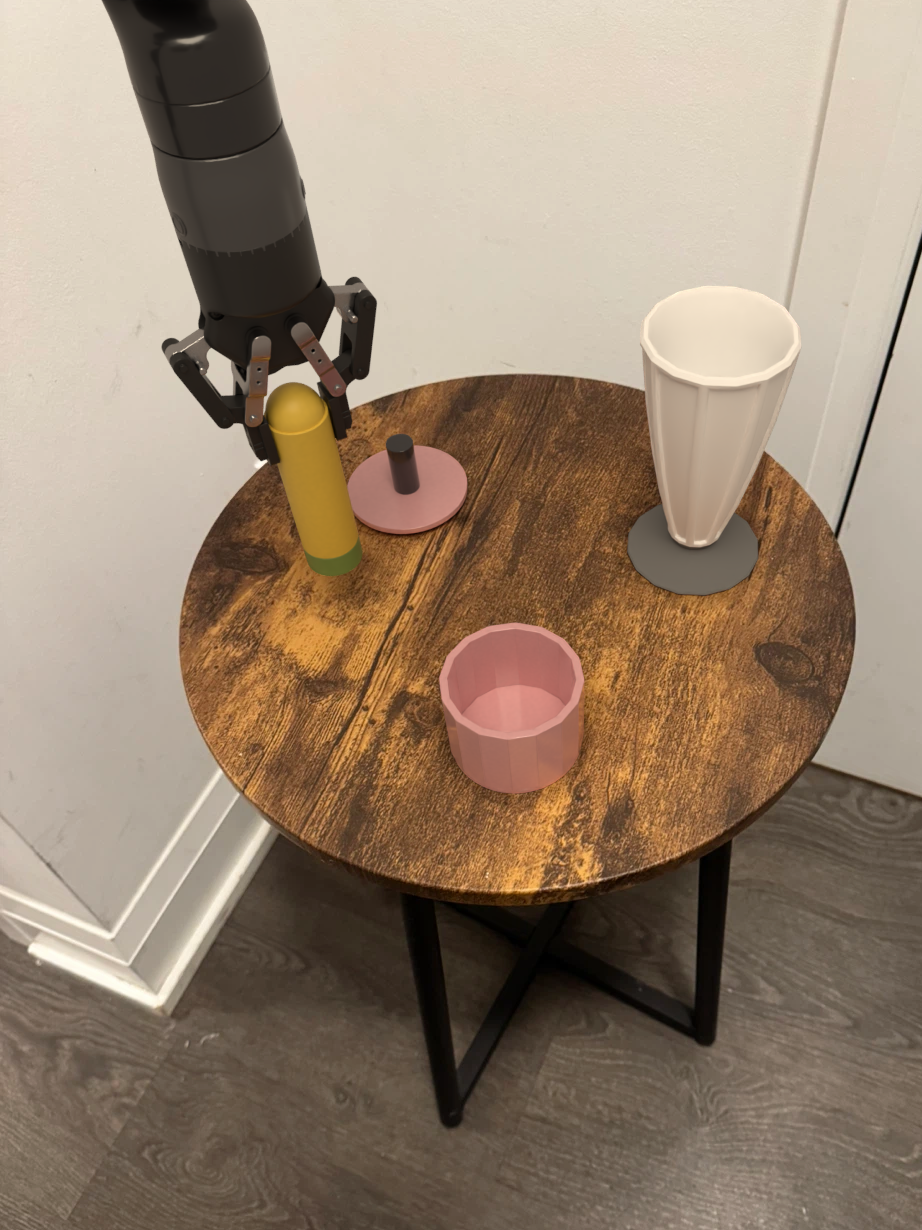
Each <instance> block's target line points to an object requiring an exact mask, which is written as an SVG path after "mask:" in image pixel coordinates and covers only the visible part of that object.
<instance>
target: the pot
mask: <svg viewBox="0 0 922 1230" xmlns="http://www.w3.org/2000/svg"><path fill="white" fill-rule="evenodd" d="M438 682H439V690H440V691H439V692H440V698H441V704H442V710H443V715H444V720H445V721H444V722H445V725H446V732H447V737H448V742H449V747H450V753H451V755H452V756H453V760H454V761H455V763H456V765H457V766H458V768H459V769H460V770H461V772H462V773H463V774H464V775H465V776H466V777H467V778H468V779H470V780H471V781H472V782H474V784H475V783H476V784H477V785H479V786H481V787H483V788H485V789H487V790H490V791H495V792H498V793H502V794H526V793H527V794H528V793H531V792H536V791H539V790H541V789H544V788H547V787H550V786H551V785H552V784H555V783H556V782H557V781H559V780H560V779H561V778H563V777H564V776H565V775H566V774H567V773H568V772H569V771H570V770H571V769H572V767H573V766H574V765H575V763H576V761H577V759H578V758H579V755H580V753H581V750H582V746H583V739H584V736H585V675H584V672H583V667H582V663H581V658H580V657H579V655H578V654H577V653H576V652H575V650H574V649H573V648H572V647H571V645H570V644H569V643H568V642H567V641H566V639H564V638H563V637H561V636H559V634H558V635H557V634H555V633H554V632H552V631H551V630H549V629H547V628H545V627H544V626H539V625H533V624H528V623H522V622H509V623H508V622H507V623H501V624H494V625H493V624H492V625H488V626H485V627H483V628H482V629H479V630H477V631H475V632H473V633H471V634H469V635H467V636H465V637H464V638H462V640H461V641H460V642H459V643H458V644H456V646H455V647H454V648H452V650H451V651H450V652H449V653H448V654H447V655H446V657H445V660H444V662H443V665H442V668H441V671H440V674H439V676H438Z"/></svg>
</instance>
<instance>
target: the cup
mask: <svg viewBox="0 0 922 1230" xmlns="http://www.w3.org/2000/svg"><path fill="white" fill-rule="evenodd" d="M801 336H802V334H801V327H800V326H799V324H798V323H797V321H796V320H795V318H794V317H793V316H792V315H791V314H790V312H789V311H788V309H787V308H786V307H785V306H784V305H782V304H781V303H779V302H777V301H776V300H774V299H773V298H770V297H769V296H767V295H766V294H765V293H760V292H758V291H753V290H750V289H746V288H743V287H739V286H733V285H732V286H731V285H702V286H698V287H693V288H688V289H684V290H679V291H677V292H674V293H673V294H670V295H669V296H668V297H667V296H666V297H665V298H664V299H662V300H660V301H658V302H656V303H655V304H654V305H653V307H652V308H651V309H650V310H649V312H647V314H646V316H645V317H644V318H643V319H642V320H641V322H640V335H639V345H640V347H641V349H642V350H641V353H642V369H643V370H642V371H643V384H644V385H643V386H644V399H645V407H646V408H645V409H646V416H647V423H648V431H649V440H650V448H651V454H652V455H651V456H652V460H653V466H654V471H655V476H656V481H657V488H658V493H659V496H660V500H661V504H660V503H659V504H657V505H656V506H654V507H652V508H651V509H649V510H648V511H646V512H644V513H642V514H641V515H640V516H639V517H637V519H636V521H635V523H634V524H633V526H632V527H631V528H630V530H629V531H628V534H627V535H628V536H627V549H626V550H627V554H628V557H629V558H630V561H631V563H632V565H633V568H634V569H635V571H636V572H638V573H639V574H640V575H641V576H642V577H644V578H645V580H647V581H648V582H650V583H651V584H652V585H653V586H655V587H658V588H661V589H663V590H665V591H668V592H671V593H675V594H677V595H685V596H686V595H687V596H709V595H712V594H716V593H720V592H724V591H728V590H730V589H732V588H734V587H736V586H737V584H739V583H740V582H742V581H743V580H745V579H746V578H748V577H749V576H750V574H751V572H752V570H753V568H754V567H755V565H756V563H757V562H758V559H759V541H758V538H757V536H756V534H755V533H754V530H753V529H752V528H751V526H750V524H749V522H748V521H747V520H746V519H744V518H743V517H741V516H740V515H739V514H738V513H736V510H737V509H738V508H739V505H740V503H741V501H742V499H743V497H744V495H745V493H746V491H747V490H748V487H749V485H750V483H751V481H752V479H753V477H754V475H755V473H756V471H757V469H758V466H759V463H760V462H761V460H762V457H763V454H764V452H765V449H766V447H767V445H768V442H769V440H770V438H771V435H772V432H773V430H774V428H775V425H776V424H777V421H778V417H779V415H780V413H781V409H782V406H783V404H784V401H785V398H786V395H787V392H788V389H789V387H790V384H791V382H792V379H793V375H794V373H795V372H794V371H795V368H796V365H797V362H798V360H799V356H800V353H801V350H802V337H801Z"/></svg>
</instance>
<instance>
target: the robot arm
mask: <svg viewBox="0 0 922 1230" xmlns="http://www.w3.org/2000/svg"><path fill="white" fill-rule="evenodd" d="M101 3H102V5H103V6H104V9H105V11H106V13H107V15H108V17H109V20H110V22H111V25H112V26H113V27H112V28H113V29H114V32H115V34H116V36H117V40H118V42H119V44H120V47H121V50H122V54H123V57H124V61H125V62H124V63H125V66H126V70H127V73H128V77H129V80H130V83H131V86H132V90H133V94H134V96H135V99H136V102H137V106H138V108H139V111H140V115H141V117H142V120H143V123H144V126H145V130H146V133H147V135H148V139H149V141H150V145H151V147H152V152H153V157H154V162H155V169H156V173H157V178H158V182H159V185H160V188H161V192H162V195H163V198H164V201H165V204H166V208H167V210H168V213H169V217H170V220H171V223H172V225H173V229H174V231H175V234H176V238H177V240H178V243H179V246H180V250H181V252H182V255H183V259H184V262H185V264H186V267H187V271H188V273H189V276H190V279H191V282H192V284H193V288H194V291H195V294H196V297H197V300H198V304H199V316H198V319H197V320H198V321H197V327H198V329H196V330H194V331H193V332H192V333H190V334H189V335H187V336H185V337H184V338H183V339H181V340H179V339H177V338H175V337H169V338H166V339H164V340H163V342H162V343H161V351H162V354H164V357H165V358H166V360H167V362H168V363H169V366H170V367H171V369H172V371H173V372H174V374H175V375H176V377H177V378H178V379H179V380H180V382H181V383H182V384H183V385H184V387H185V388H186V389H187V390H188V392H190V394H191V395H192V396H193V397H194V399H195V401H197V402H198V404H199V405H200V407H202V409H203V410H204V411H205V412H206V414H207V415H208V416H209V417H210V418H211V420H212V421H213V422H214V424H215V425H216V426H217V427H218V428H220V429H222V430H227V429H230V428H231V427H233V425H234V424H240V425H242V427H243V431H244V433H245V436H246V439H247V442H248V445H249V447H250V449H251V450H252V452H253V454H254V455H255V457H256V458H257V459H258V461H259V462H264V461H267V463H268V465H269V466H270V467H273V466H275V465H276V466H277V464H278V463H280V460H279V456H278V453H277V450H276V447H275V443H274V440H273V437H272V433H271V430H270V427H269V424H268V422H267V420H266V418H265V417H264V409H265V408H264V407H265V406H264V405H265V397H267V396H268V387H269V385H268V384H269V376H271V375H273V374H276V373H278V372H280V371H281V370H282V369H284V368H286V367H294V366H300V365H302V364H305V363H309V364H310V366H311V367H312V369H313V370H314V372H315V374H316V375H317V376H318V378H319V381H317V382H316V385H317V386H316V387H317V389H318V395H319V396H320V397H321V398H322V399H323V400H324V401H325V403H326V404H327V406H328V410H329V414H330V418H331V423H332V427H333V431H334V435H335V439H336V442H339V441H342V440H345V439H348V433H347V430H350V429H352V424H353V418H352V414H351V409H350V406H349V400H348V396H347V388H348V387H349V385H351V383H352V382H354V381H356V380H357V381H363V380H365V379H366V378H367V377H368V376H369V374H370V372H371V371H370V369H371V361H372V353H373V352H372V351H373V343H374V335H375V326H376V325H375V324H376V318H377V317H376V316H377V307H378V301H377V298H376V297H375V296H374V294H373V293H372V292H371V291H370V290H369V288H368V287H367V285H366V284H365V283H364V282H363V281H362V279H361V278H360V277H359V276H351V277H349V278H347V280H346V281H345V283H344V285H340V284H339V285H328V283H327V282H326V280H325V279H324V278H323V275H322V270H321V265H320V260H319V255H318V251H317V246H316V241H315V238H314V233H313V229H312V225H311V224H312V223H311V219H310V215H309V211H308V206H307V202H306V194H307V193H306V188H305V183H304V179H303V178H302V175H301V173H300V169H299V165H298V162H297V158H296V155H295V151H294V149H293V146H292V143H291V140H290V138H289V135H288V132H287V129H286V126H285V123H284V119H283V115H282V111H281V107H280V103H279V97H278V93H277V89H276V88H277V87H276V85H275V81H274V79H275V78H274V75H273V70H272V67H271V62H270V57H269V53H268V49H267V44H266V42H265V37H264V34H263V31H262V27H261V26H260V23H259V21H258V18H257V16H256V14H255V12H254V10H253V8H252V7H251V5H250V4H249V2H248V1H247V0H101ZM335 308H336V312H337V314H338V315H339V316H340V317H341V323H340V334H339V347H338V356H335V358H334V359H332V360H331V358H330V357H329V356H328V354H327V353H326V351H325V350H324V348H323V346H322V345H321V343H320V342H321V339H322V337H323V335H324V332H325V330H326V328H327V326H328V323H329V320H330V318H331V316H332V313H333V311H334V309H335ZM211 349H212V350H214V351H215V352H217V353H219V354H220V355H221V356H223V357H225V358H226V359H228V360H230V367H231V368H230V369H231V374H232V381H233V382H232V394H231V395H230V394H229V395H226V394H225V395H222V394H221V393H220V392H219V390H218V389H217V388H216V386H215V385H214V384H213V382H212V381H211V380H210V378H209V377H208V376H207V373H208V370H209V367H210V362H209V360H208V357H207V355H208V352H209V350H211Z"/></svg>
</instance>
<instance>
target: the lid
mask: <svg viewBox="0 0 922 1230" xmlns="http://www.w3.org/2000/svg"><path fill="white" fill-rule="evenodd" d="M468 486H469V485H468V478H467V474H466V471H465V469H464V467H463V466H462V464H461V463H460V462H459V461H458V460H457V459H456V458H455V457H454V456H452V455H450V454H449V453H448V452H445V451H443V450H440V449H438V448H435V447H431V446H426V445H418V444H417V445H416V444H414V440H413V438H412V437H411V436H410V435H408V434H407V433H406V434H405V433H396V434H393V435H391V436H389V437H388V438H387V439H386V441H385V449H384V450H381V451H378V452H377V453H375V454H372V455H371V456H370V457H368V458H366V459H365V460H363V461H362V462H361V463H360V464H358V466H356V468H355V469H354V470H353V472H352V474H351V475H350V477H349V480H348V482H347V488H348V493H349V497H350V501H351V505H352V509H353V513H354V517H356V518H357V519H358V520H359V521H360V522H361V523H362V524H364V525H365V526H367V527H369V528H371V529H373V530H376V531H379V532H382V533H387V534H394V535H395V534H396V535H409V534H416V533H422V532H426V531H429V530H431V529H434V528H436V527H439V526H440V525H442V524H444V523H446V522H448V521H449V520H450V519H451V518H453V517H454V516H455V515H456V514H457V513H458V512H459V511H460V509H461V508H462V506H463V505H464V503H465V501H466V499H467V496H468V489H469V487H468Z"/></svg>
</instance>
